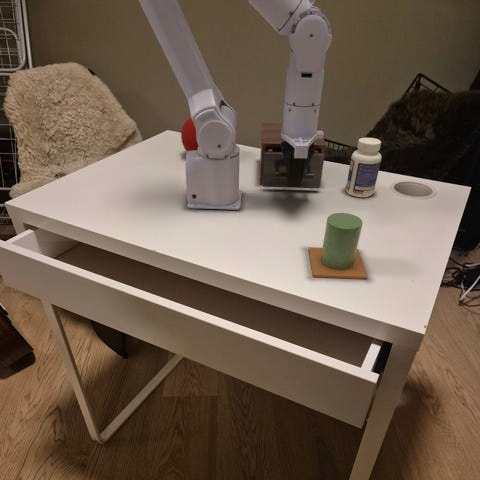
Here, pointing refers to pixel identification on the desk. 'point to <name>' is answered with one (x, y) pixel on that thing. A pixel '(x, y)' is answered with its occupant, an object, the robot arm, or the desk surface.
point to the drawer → (278, 175)
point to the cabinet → (274, 139)
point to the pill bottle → (364, 168)
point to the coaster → (322, 271)
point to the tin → (341, 241)
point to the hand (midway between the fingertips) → (293, 185)
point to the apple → (189, 136)
